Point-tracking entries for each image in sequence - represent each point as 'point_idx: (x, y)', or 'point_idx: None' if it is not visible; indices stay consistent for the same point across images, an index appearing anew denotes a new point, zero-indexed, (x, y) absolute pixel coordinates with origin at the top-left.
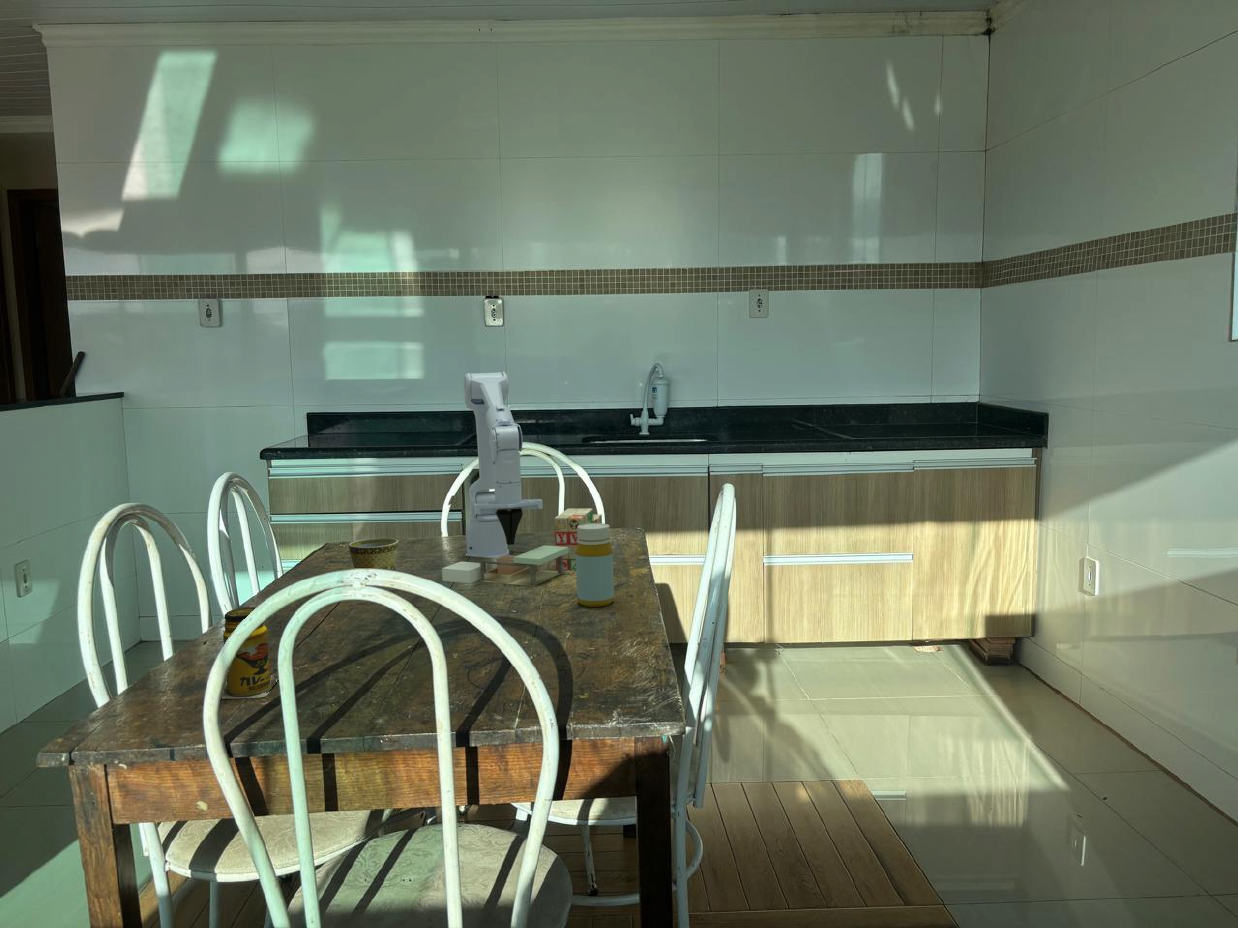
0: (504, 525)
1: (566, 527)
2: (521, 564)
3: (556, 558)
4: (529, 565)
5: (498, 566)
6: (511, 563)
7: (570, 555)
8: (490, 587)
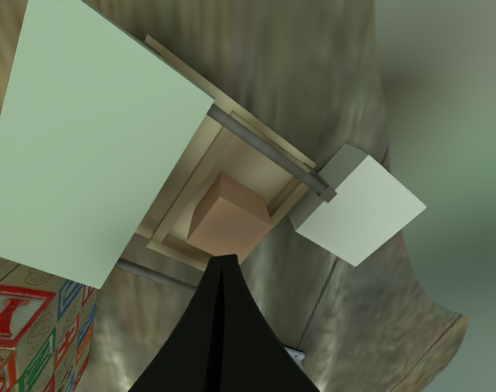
0: (263, 332)
1: None
2: None
3: None
4: None
5: (265, 210)
6: (226, 115)
7: None
8: (296, 88)
